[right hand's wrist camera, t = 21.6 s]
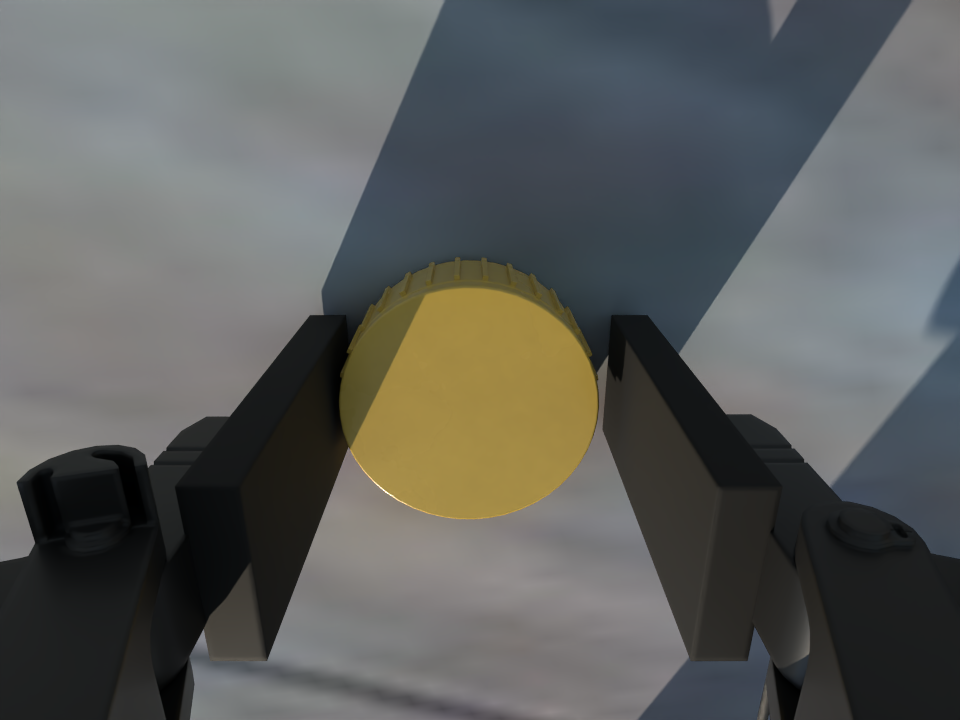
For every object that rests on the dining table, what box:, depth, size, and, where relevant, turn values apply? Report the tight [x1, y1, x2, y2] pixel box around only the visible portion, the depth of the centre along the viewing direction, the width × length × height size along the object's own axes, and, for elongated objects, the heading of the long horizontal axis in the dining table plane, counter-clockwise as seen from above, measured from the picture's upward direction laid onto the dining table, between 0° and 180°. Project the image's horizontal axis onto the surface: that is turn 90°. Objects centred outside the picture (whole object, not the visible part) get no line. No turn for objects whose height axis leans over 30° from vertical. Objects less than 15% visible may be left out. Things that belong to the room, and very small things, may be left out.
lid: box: [339, 257, 599, 519], centre depth 13 cm, size 5×5×2 cm
